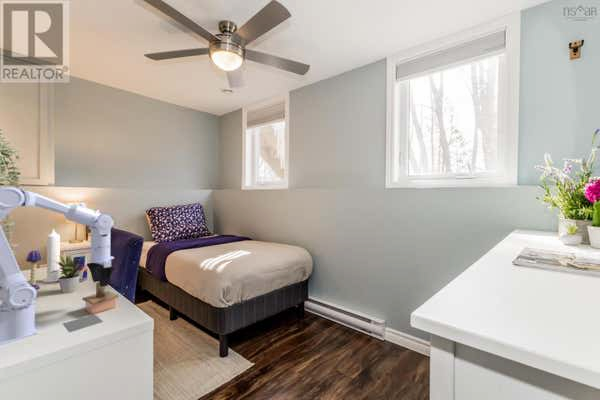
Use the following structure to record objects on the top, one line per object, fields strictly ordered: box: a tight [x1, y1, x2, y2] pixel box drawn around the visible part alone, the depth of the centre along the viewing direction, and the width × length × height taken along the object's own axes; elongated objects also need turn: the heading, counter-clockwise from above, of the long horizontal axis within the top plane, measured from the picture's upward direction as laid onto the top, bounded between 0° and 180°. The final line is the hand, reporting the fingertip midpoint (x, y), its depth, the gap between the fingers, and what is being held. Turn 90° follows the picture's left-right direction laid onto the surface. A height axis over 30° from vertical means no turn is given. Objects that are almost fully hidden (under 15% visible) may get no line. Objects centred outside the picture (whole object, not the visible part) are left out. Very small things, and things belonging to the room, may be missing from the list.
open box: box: [85, 298, 116, 316], centre depth 96 cm, size 7×7×4 cm
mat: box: [62, 314, 104, 333], centre depth 85 cm, size 8×8×1 cm
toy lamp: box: [25, 250, 42, 291], centre depth 114 cm, size 5×5×17 cm
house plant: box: [50, 253, 88, 294], centre depth 113 cm, size 14×14×16 cm
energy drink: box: [72, 253, 88, 282], centre depth 127 cm, size 5×5×12 cm
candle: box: [43, 228, 61, 284], centre depth 126 cm, size 7×7×25 cm
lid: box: [81, 281, 119, 305], centre depth 96 cm, size 8×8×6 cm
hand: (100, 283), depth 96 cm, fingers open, 7 cm apart
